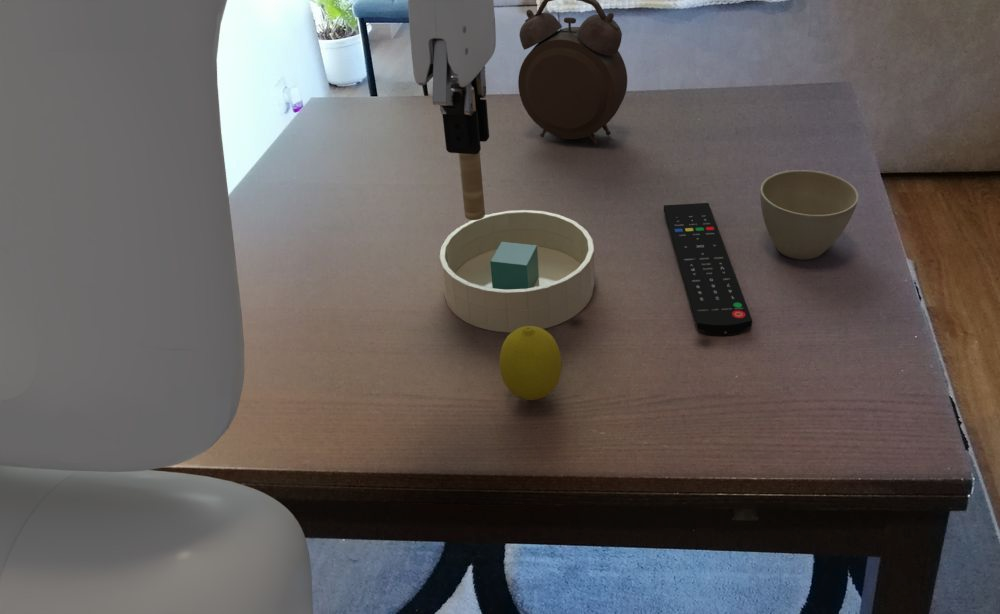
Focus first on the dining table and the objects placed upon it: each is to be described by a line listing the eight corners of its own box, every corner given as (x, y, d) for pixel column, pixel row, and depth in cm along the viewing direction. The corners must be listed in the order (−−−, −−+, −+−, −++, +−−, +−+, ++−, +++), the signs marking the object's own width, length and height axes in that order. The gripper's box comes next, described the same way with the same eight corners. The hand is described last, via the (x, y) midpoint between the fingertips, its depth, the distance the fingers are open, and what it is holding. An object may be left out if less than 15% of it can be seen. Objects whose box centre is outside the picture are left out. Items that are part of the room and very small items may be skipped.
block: (528, 297, 92) (526, 265, 90) (492, 292, 93) (490, 261, 91) (538, 276, 95) (537, 245, 93) (503, 272, 96) (501, 241, 94)
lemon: (567, 380, 82) (565, 312, 77) (556, 421, 77) (553, 351, 73) (509, 375, 83) (504, 307, 78) (496, 414, 79) (489, 345, 74)
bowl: (576, 341, 86) (575, 300, 84) (423, 323, 91) (417, 283, 88) (606, 254, 99) (606, 216, 96) (470, 241, 103) (466, 204, 100)
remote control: (707, 212, 105) (708, 202, 104) (752, 334, 85) (753, 323, 85) (663, 215, 105) (663, 205, 104) (697, 337, 86) (698, 326, 85)
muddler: (481, 221, 85) (470, 93, 78) (462, 219, 86) (449, 92, 78) (487, 211, 87) (476, 85, 79) (468, 209, 87) (456, 84, 80)
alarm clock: (631, 132, 124) (633, -11, 113) (614, 154, 119) (615, 6, 107) (537, 120, 130) (530, -18, 118) (517, 140, 125) (508, -2, 113)
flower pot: (756, 271, 94) (764, 213, 90) (751, 224, 102) (757, 168, 98) (854, 274, 92) (866, 215, 88) (840, 226, 100) (851, 170, 96)
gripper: (437, -83, 78) (456, 110, 89) (368, -37, 66) (400, 182, 77) (517, -84, 76) (528, 114, 87) (462, -37, 64) (481, 187, 75)
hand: (468, 144), depth 82 cm, fingers closed on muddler, 2 cm apart
